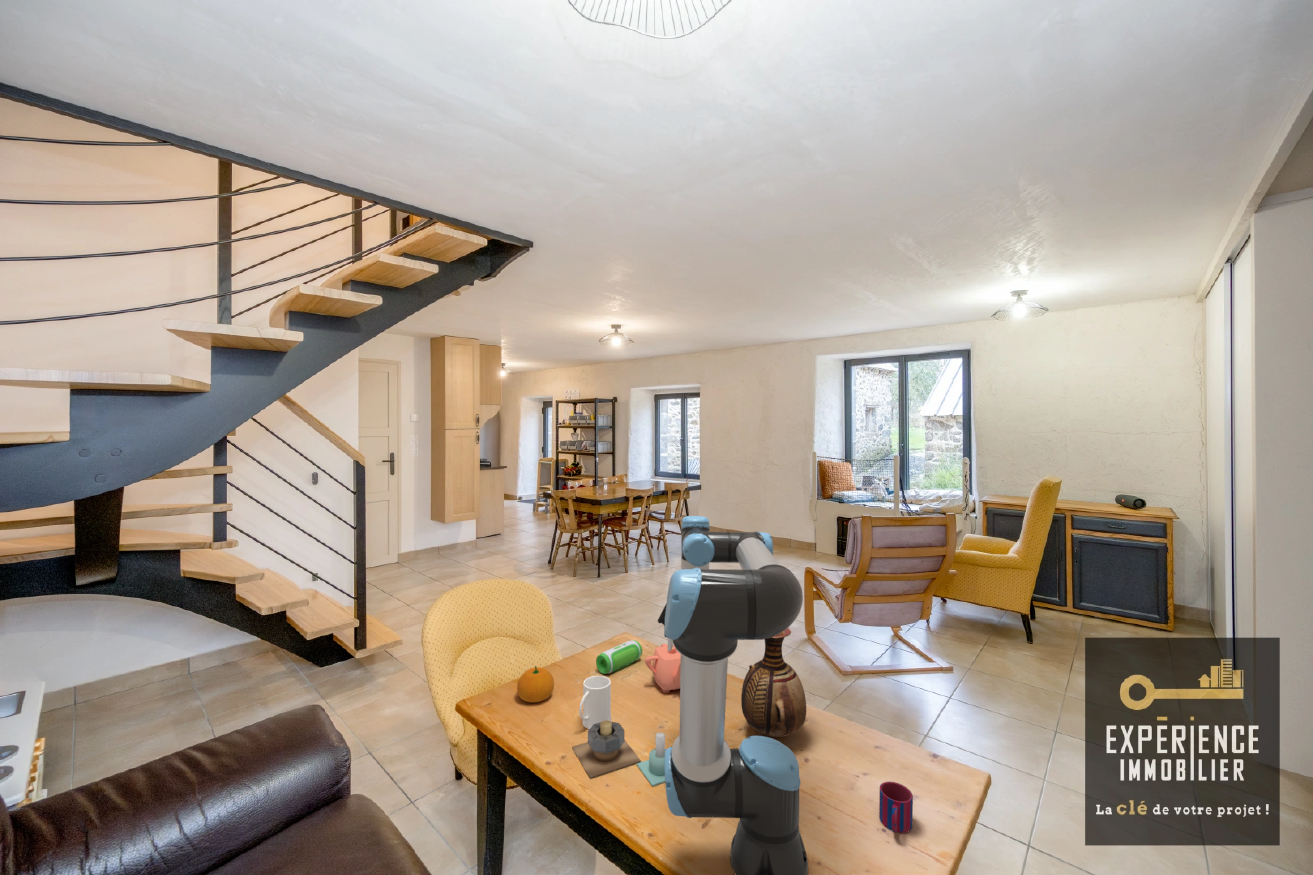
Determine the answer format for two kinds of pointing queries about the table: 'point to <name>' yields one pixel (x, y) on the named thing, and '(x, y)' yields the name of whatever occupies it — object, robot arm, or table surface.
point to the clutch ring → (605, 738)
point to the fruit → (535, 685)
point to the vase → (773, 693)
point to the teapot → (665, 667)
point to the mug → (595, 701)
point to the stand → (655, 762)
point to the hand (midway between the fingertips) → (694, 652)
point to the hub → (605, 755)
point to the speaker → (618, 657)
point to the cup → (896, 807)
